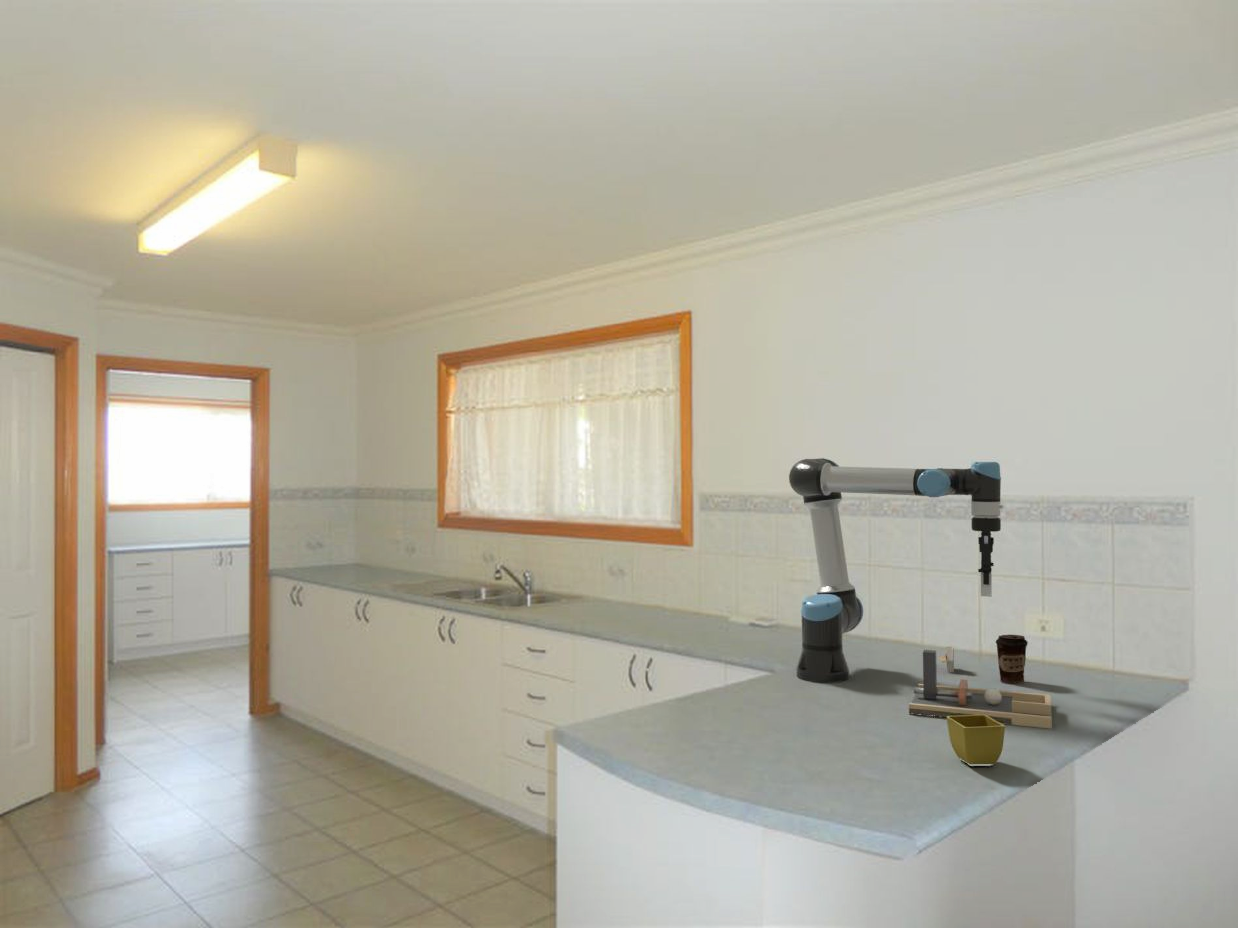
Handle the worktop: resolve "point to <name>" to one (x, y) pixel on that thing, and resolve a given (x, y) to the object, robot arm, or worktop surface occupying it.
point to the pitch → (989, 707)
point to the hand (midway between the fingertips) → (986, 592)
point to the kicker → (931, 681)
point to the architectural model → (949, 659)
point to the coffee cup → (1011, 658)
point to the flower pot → (976, 738)
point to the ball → (993, 696)
